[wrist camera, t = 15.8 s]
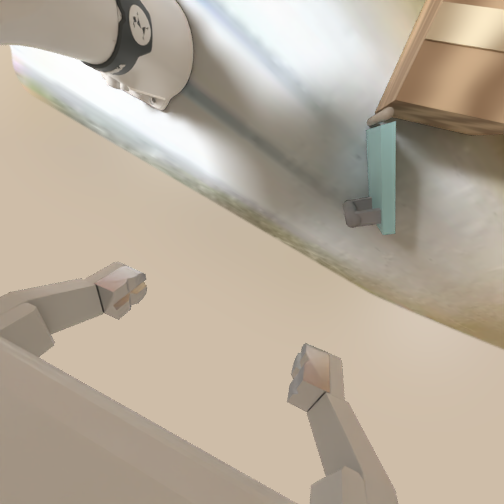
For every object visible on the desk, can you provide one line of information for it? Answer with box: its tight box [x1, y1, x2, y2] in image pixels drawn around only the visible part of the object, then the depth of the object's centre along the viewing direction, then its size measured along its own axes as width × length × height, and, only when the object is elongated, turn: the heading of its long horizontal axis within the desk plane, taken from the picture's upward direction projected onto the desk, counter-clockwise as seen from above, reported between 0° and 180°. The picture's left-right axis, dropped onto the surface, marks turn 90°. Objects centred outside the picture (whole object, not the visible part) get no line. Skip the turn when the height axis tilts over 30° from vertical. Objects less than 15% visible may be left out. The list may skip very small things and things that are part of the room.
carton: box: [375, 0, 504, 135], centre depth 23 cm, size 14×12×12 cm
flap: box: [343, 107, 396, 235], centre depth 31 cm, size 16×6×11 cm, turn 16°
